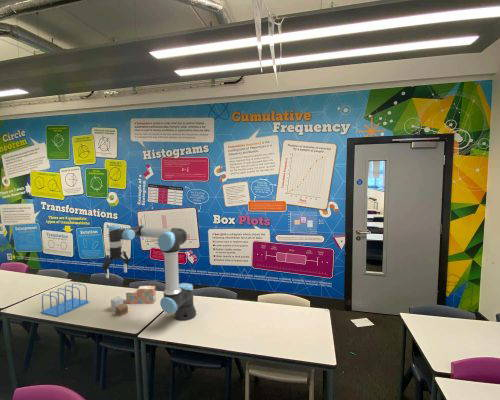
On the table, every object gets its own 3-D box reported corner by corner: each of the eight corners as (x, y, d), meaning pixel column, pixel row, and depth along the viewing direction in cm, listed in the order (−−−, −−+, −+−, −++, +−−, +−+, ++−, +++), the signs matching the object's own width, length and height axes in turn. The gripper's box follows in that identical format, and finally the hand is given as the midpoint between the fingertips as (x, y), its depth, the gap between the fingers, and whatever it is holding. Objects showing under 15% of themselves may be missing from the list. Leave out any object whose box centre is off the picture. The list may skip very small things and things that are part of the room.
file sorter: (57, 318, 192) (55, 297, 191) (40, 314, 198) (39, 294, 196) (88, 303, 215) (87, 284, 214) (73, 299, 221) (72, 281, 220)
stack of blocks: (126, 304, 213) (125, 289, 212) (129, 300, 219) (129, 285, 218) (153, 303, 213) (152, 288, 212) (155, 300, 220) (155, 285, 219)
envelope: (134, 309, 203) (134, 309, 203) (113, 318, 190) (113, 318, 190) (122, 304, 213) (122, 303, 213) (102, 312, 200) (102, 312, 199)
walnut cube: (123, 311, 201) (127, 313, 198) (115, 314, 196) (120, 316, 193) (123, 303, 200) (127, 305, 197) (115, 306, 196) (119, 308, 192)
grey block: (123, 308, 205) (122, 298, 204) (115, 311, 200) (115, 301, 199) (119, 306, 208) (118, 296, 208) (111, 309, 203) (110, 299, 203)
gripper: (128, 242, 208) (129, 269, 210) (95, 249, 187) (96, 279, 189) (134, 243, 204) (135, 271, 205) (100, 251, 183) (101, 281, 185)
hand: (116, 275), depth 197 cm, fingers open, 13 cm apart
